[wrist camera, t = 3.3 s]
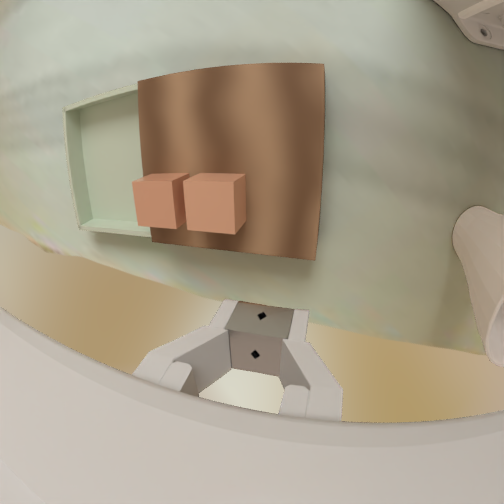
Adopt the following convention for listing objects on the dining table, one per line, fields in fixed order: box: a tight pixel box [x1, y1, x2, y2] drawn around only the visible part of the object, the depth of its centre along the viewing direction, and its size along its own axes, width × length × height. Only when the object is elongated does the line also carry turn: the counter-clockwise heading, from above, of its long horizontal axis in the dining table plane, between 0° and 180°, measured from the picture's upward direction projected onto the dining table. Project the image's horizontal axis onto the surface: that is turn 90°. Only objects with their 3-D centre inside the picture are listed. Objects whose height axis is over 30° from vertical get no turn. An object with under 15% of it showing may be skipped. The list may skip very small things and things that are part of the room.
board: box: [138, 63, 325, 260], centre depth 24 cm, size 16×16×4 cm
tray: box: [62, 84, 151, 237], centre depth 27 cm, size 13×16×3 cm
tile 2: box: [183, 173, 246, 234], centre depth 22 cm, size 4×4×3 cm
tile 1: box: [132, 173, 190, 229], centre depth 23 cm, size 4×4×3 cm
